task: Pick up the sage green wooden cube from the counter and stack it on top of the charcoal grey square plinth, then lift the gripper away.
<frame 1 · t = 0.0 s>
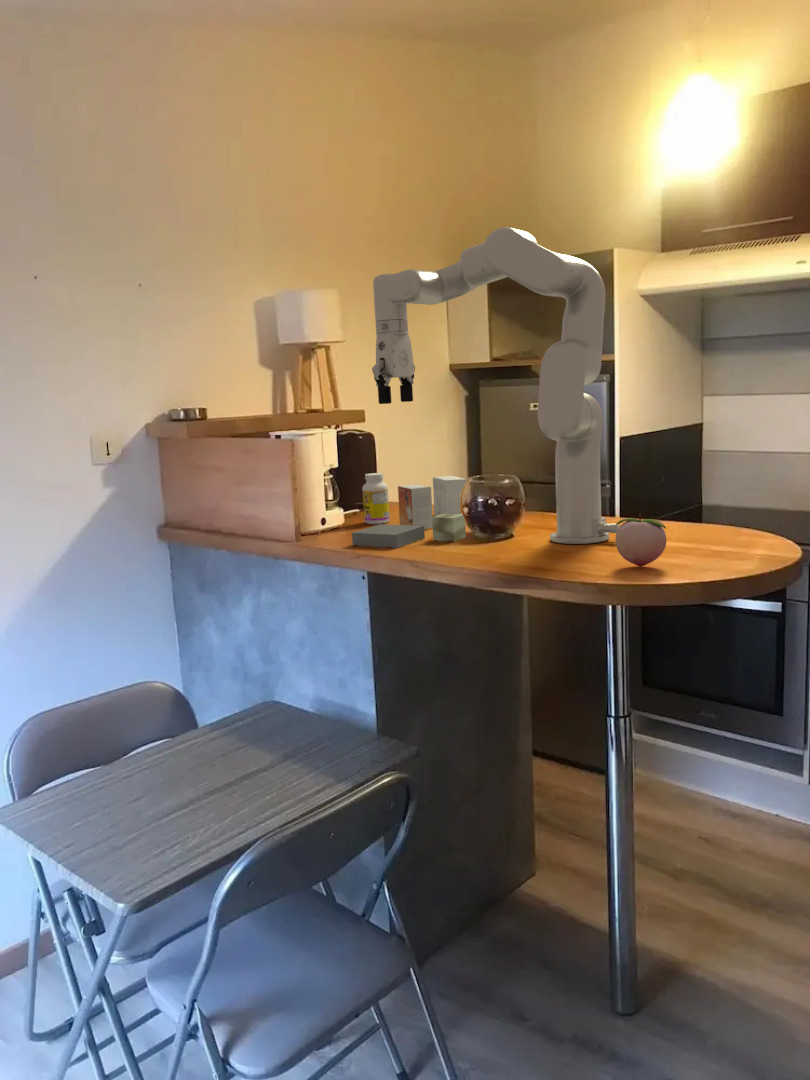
hand: (396, 402, 218), 31 cm above the table, tool pointing down, fingers open, 9 cm apart
decorative fruit: (640, 568, 169), on the table
plinth: (389, 542, 210), on the table
cube: (449, 539, 210), on the table
supplement bottle: (377, 523, 240), on the table
small box: (416, 528, 228), on the table
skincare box: (451, 517, 243), on the table
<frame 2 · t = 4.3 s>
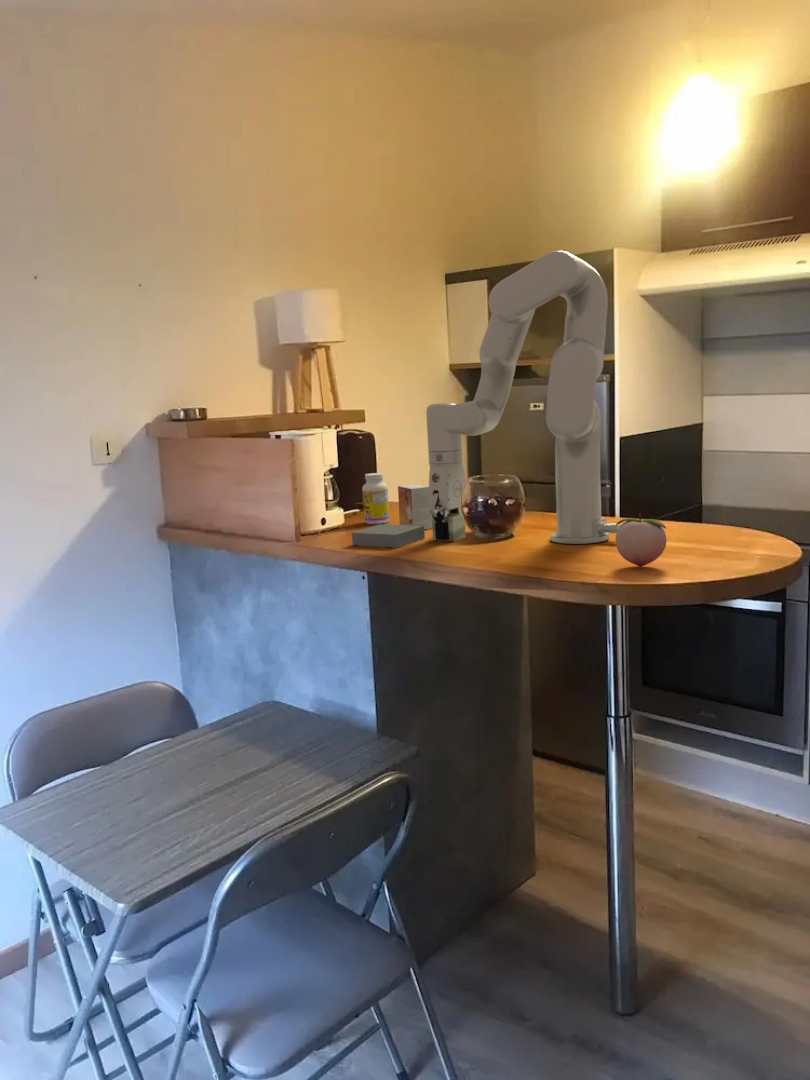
hand: (449, 536, 210), 1 cm above the table, tool pointing down, fingers closed on cube, 5 cm apart
cube: (449, 539, 210), on the table, touching gripper
everything else where it was.
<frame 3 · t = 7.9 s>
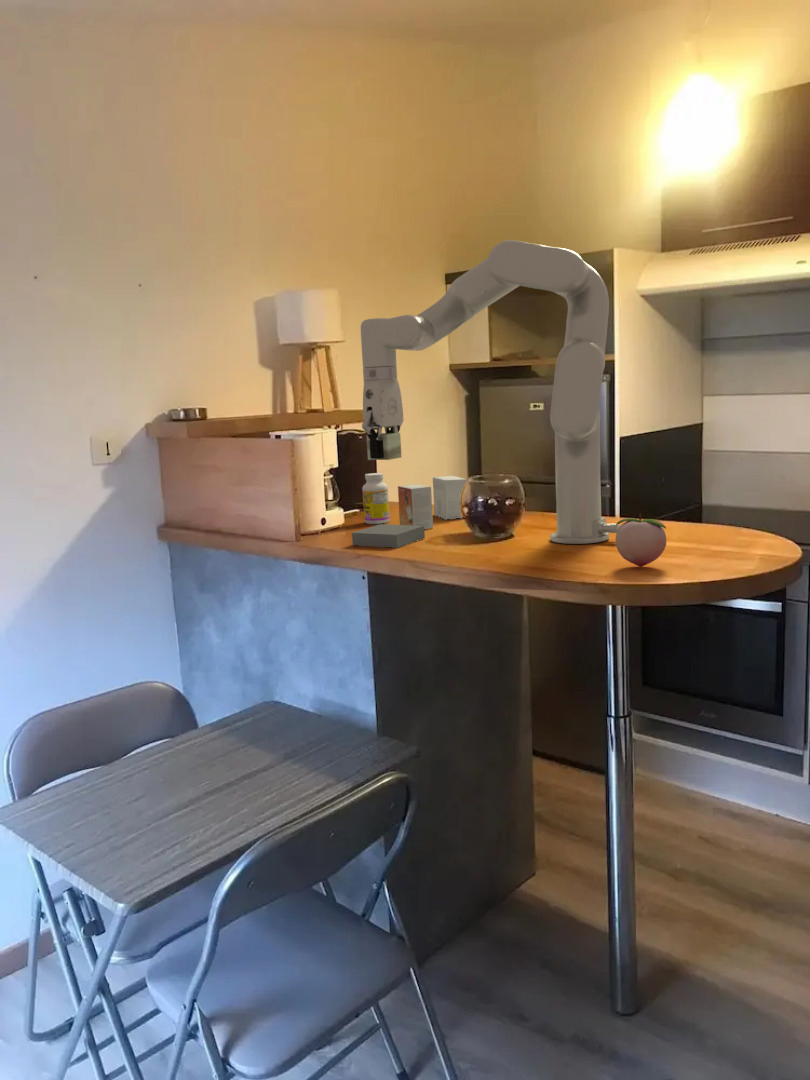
hand: (384, 456, 207), 20 cm above the table, tool pointing down, fingers closed on cube, 5 cm apart
cube: (384, 458, 207), point 19 cm above the table, touching gripper
everything else where it was.
when the fingers open (5 cm above the table, at t = 11.5 s): cube drops 1 cm, resting on plinth.
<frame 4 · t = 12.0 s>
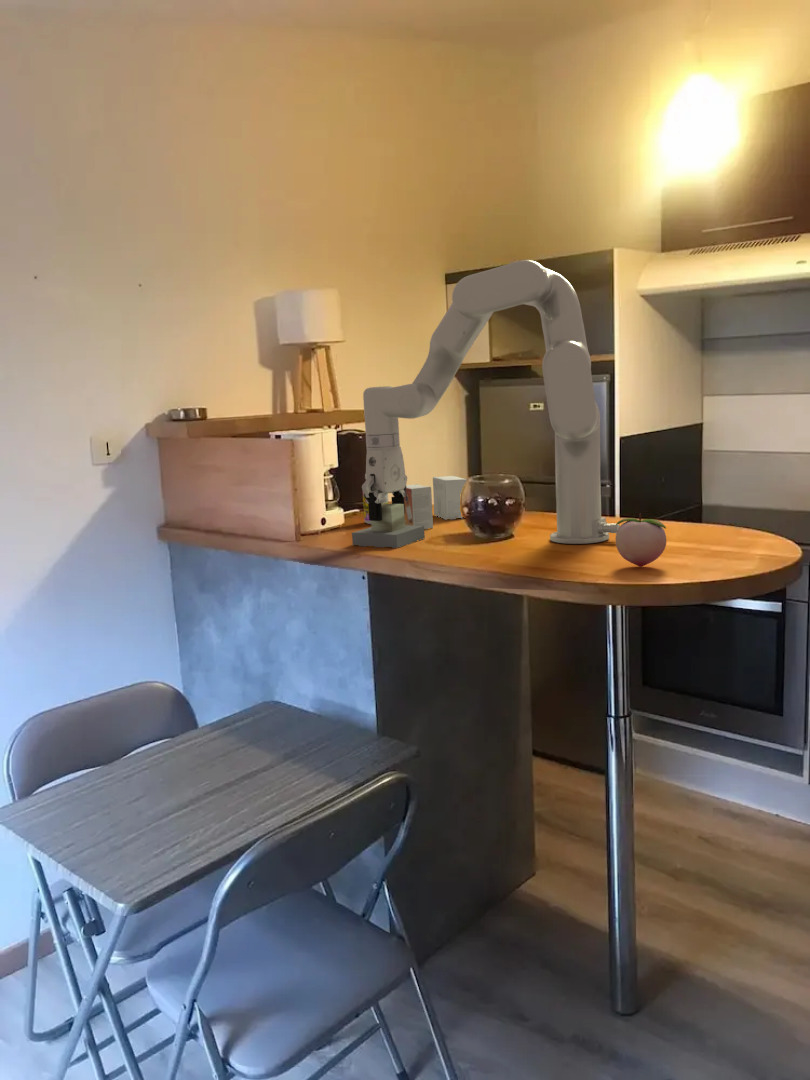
hand: (387, 517, 209), 6 cm above the table, tool pointing down, fingers open, 9 cm apart
cube: (388, 529, 210), point 3 cm above the table, touching plinth
everything else where it was.
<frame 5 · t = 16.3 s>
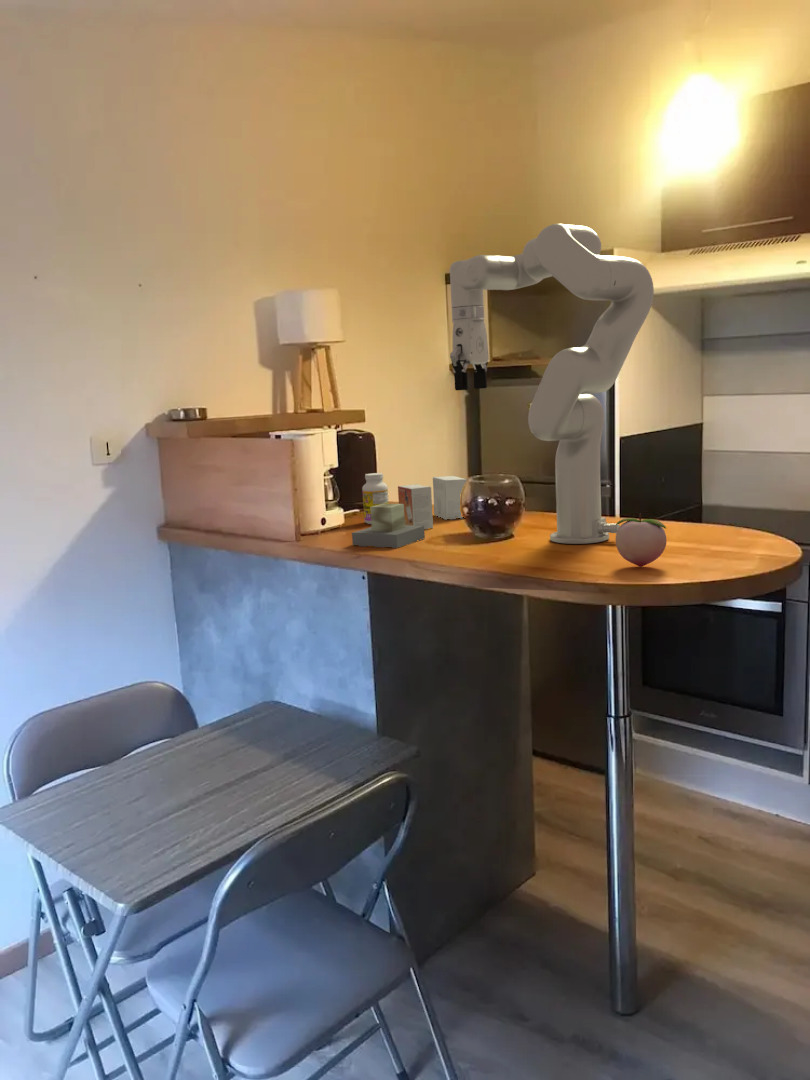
hand: (471, 389, 218), 33 cm above the table, tool pointing down, fingers open, 9 cm apart
nothing on the table moved.
at the end: cube 0.1 cm off-centre on the plinth, point 3.0 cm above the plinth's base; cube tilted 0°; the gripper is holding nothing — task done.
